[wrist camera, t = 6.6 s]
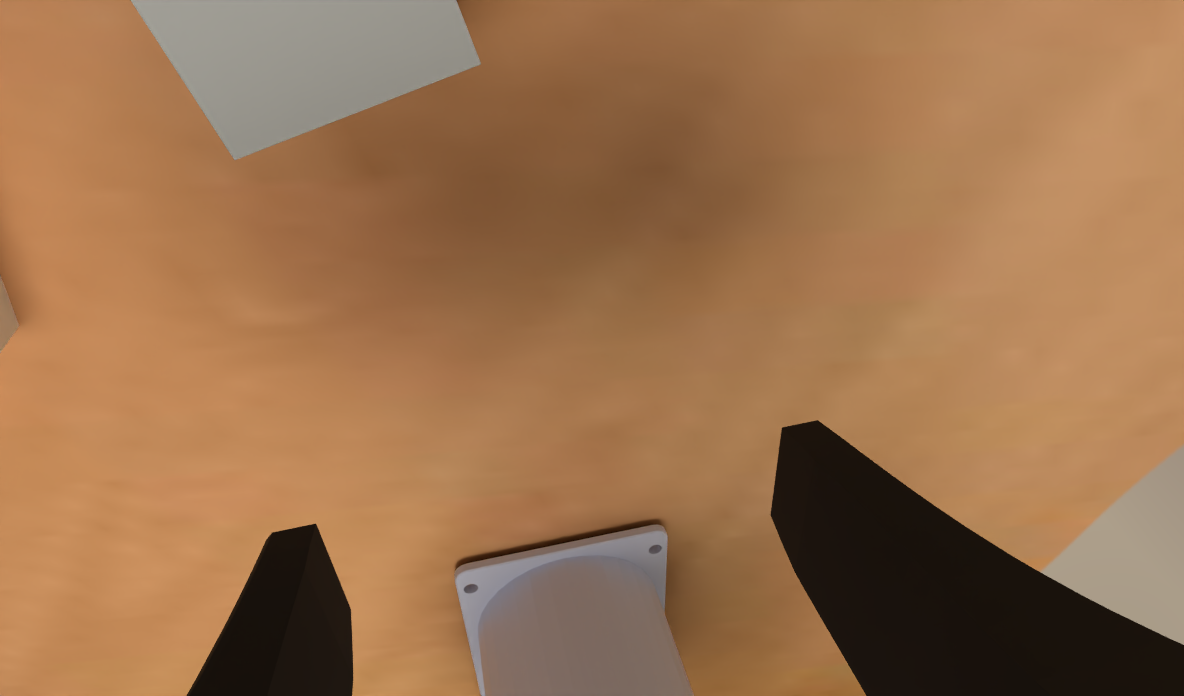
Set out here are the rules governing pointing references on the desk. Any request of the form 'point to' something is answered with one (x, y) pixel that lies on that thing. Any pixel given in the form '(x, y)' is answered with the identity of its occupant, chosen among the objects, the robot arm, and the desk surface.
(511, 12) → the desk surface
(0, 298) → the base block
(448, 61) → the grey cube
